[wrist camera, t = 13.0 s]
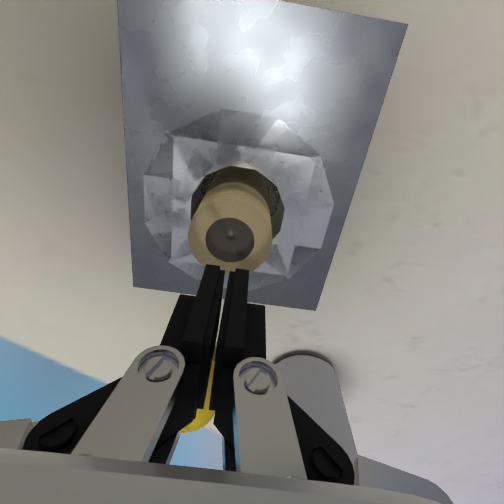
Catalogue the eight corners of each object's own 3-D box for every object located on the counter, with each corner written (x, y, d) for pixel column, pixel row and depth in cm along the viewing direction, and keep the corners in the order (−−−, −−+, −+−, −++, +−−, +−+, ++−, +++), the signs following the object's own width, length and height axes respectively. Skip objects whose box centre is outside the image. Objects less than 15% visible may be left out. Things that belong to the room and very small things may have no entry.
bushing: (212, 159, 22) (189, 194, 15) (273, 169, 22) (279, 207, 15) (207, 216, 24) (185, 271, 17) (263, 224, 24) (264, 281, 17)
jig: (144, -6, 17) (115, -30, 14) (379, 36, 18) (408, 24, 14) (150, 259, 26) (133, 286, 22) (308, 281, 27) (315, 310, 23)
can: (254, 384, 33) (252, 520, 23) (284, 340, 30) (298, 475, 20) (313, 402, 35) (336, 538, 24) (348, 362, 31) (392, 500, 21)
